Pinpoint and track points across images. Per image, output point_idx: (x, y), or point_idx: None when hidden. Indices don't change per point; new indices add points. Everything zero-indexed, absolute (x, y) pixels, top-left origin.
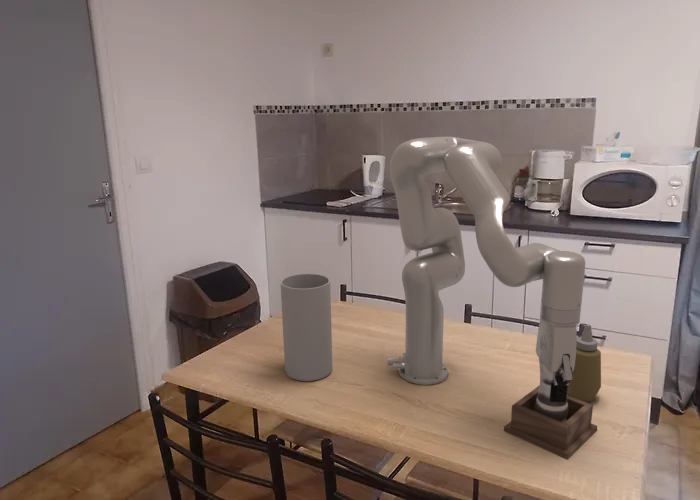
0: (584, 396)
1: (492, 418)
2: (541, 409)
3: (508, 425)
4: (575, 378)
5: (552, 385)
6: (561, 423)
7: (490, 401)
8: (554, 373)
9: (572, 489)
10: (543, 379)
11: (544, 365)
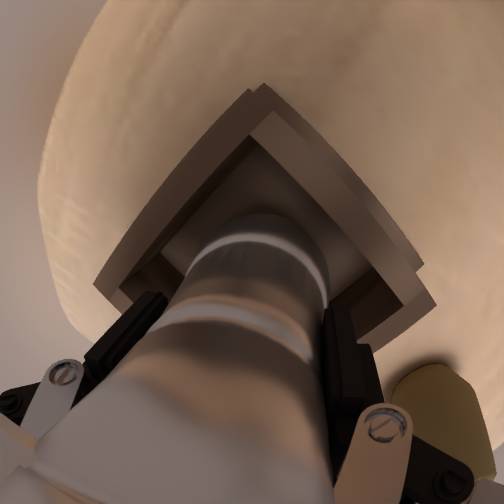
0: (395, 399)
1: (349, 70)
2: (213, 235)
3: (271, 100)
4: (426, 421)
5: (88, 354)
6: (113, 277)
7: (456, 108)
8: (29, 426)
9: (48, 217)
10: (152, 340)
11: (28, 452)
